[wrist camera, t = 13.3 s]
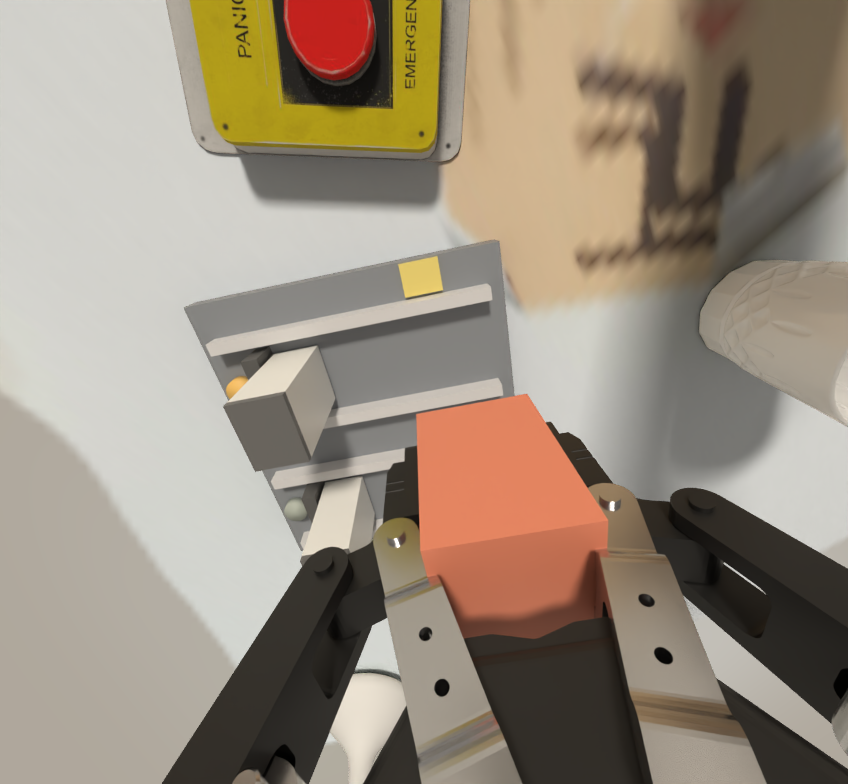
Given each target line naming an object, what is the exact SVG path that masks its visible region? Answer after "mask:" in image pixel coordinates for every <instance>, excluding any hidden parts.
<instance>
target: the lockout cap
mask: <svg viewBox="0 0 848 784" xmlns="http://www.w3.org/2000/svg"><path fill="white" fill-rule="evenodd" d="M416 420H417V455H418V489H419V524H420V552H421V555H422V559H423V563H424V566H425V570H426V574H427V577H430V576H435V575H437V577H439V579H440V581H441V583H442V586H443V588H444V591H445V593H446V596H447V598H448V601H449V603H450V606H451V609H452V611H453V614H454V616H455V619H456V621H457V624H458V626H459V629H460V631H461V634H462V636H463V638H469V637H476V636H482V635H489V634H496V635H504V636H513V637H521V638H530V639H537V638H540V637H542V636H544V635H546V634H549V633H551V632H553V631H555V630H557V629H559V628H561V627H564V626H566V625H568V624H570V623H572V622H575V621H582V620H588V619H594V606H596V572H595V550H596V549H604V548H607V541H608V519H607V518H606V516H605V514H604V513H603V511H602V510H601V508H600V507H599V505H598V504H597V502H596V500H595V499H594V497H593V496H592V494H591V493H590V491H589V490H588V488H587V486H586V485H585V483H584V482H583V480H582V479H581V477H580V476H579V474H578V472H577V471H576V469H575V468H574V466H573V465H572V463H571V462H570V460H569V458H568V457H567V455H566V454H565V452H564V451H563V449H562V448H561V446H560V444H559V443H558V441H557V440H556V438H555V437H554V435H553V434H552V432H551V430H550V429H549V427H548V426H547V424H546V423H545V421H544V420H543V418H542V416H541V415H540V413H539V412H538V410H537V409H536V407H535V406H534V404H533V402H532V401H531V399H530V398H529V396H528V395H527V394H523V395H518V396H512V397H507V398H501V399H496V400H490V401H485V402H479V403H474V404H469V405H463V406H458V407H452V408H447V409H441V410H436V411H430V412H425V413H419V414H416Z"/></svg>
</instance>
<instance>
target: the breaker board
mask: <svg viewBox="0 0 848 784" xmlns="http://www.w3.org/2000/svg"><path fill="white" fill-rule="evenodd" d="M184 310H185V312H186V314H187V316H188V318H189V320H190V322H191V324H192V326H193V328H194V330H195V332H196V335H197V337H198V339H199V341H200V343H201V345H202V347H203V349H204V351H205V353H206V355H207V357H208V359H209V361H210V363H211V366H212V368H213V370H214V372H215V374H216V376H217V378H218V380H219V382H220V384H221V386H222V388H223V390H224V392H225V395H226V397H227V399H228V401H229V400H230V399H231V398H232V397H233V396H234V395H235V394H236V393H237V392H238V391H239V390H240V389H241V388H242V387H243V385H244V384H245V383H246V382H247V381H248V380H249V379H250V378H251V377H252V376H253V375H254V374H255V373H256V372H257V371H258V370H259V369H260V368H261V367H262V366H263V365H264V364H265V363H266V362H267V361H268V360H269V359H270V358H271V357H272V356H273V355H274V354H276V353H281V352H286V351H291V350H296V349H302V348H307V347H312V346H317V345H318V348H319V351H320V354H321V357H322V360H323V362H324V365H325V368H326V371H327V374H328V377H329V380H330V383H331V386H332V389H333V392H334V395H335V401H334V403H333V406H332V408H331V411H330V413H329V416H328V418H327V421H326V423H325V425H324V428H323V430H322V433H321V435H320V438H319V440H318V443H317V445H316V448H315V450H314V452H313V455H312V457H311V460H310V462H305V463H300V464H294V465H289V466H283V467H278V468H272V469H267V470H262V471H263V473H264V475H265V477H266V479H267V481H268V483H269V486H270V488H271V490H272V492H273V494H274V496H275V498H276V500H277V502H278V504H279V506H280V508H281V510H282V512H283V515H284V517H285V519H286V521H287V523H288V525H289V527H290V529H291V531H292V533H293V535H294V537H295V539H296V541H297V543H298V546H299V548H300V550H301V551H303V550H304V548H305V545H306V541H307V538H308V535H309V532H310V529H311V526H312V523H313V519H314V516H315V513H316V510H317V507H318V504H319V501H320V497H321V494H322V491H323V488H324V485H325V482H330V481H336V480H341V479H347V478H352V477H358V476H362V477H363V480H364V483H365V486H366V489H367V492H368V495H369V498H370V501H371V504H372V507H373V510H374V513H375V515H374V524H373V532H372V539H373V537H374V534H375V532H376V531H377V529H378V528H379V527H380V526H381V525H382V524H383V513H384V502H385V494H386V492H385V490H386V479H387V472H388V471H389V469H390V468H391V466H392V465H393V463H398V462H403V461H404V456H405V448H406V447H411V446H417V420H416V414H419V413H425V412H430V411H436V410H441V409H447V408H452V407H458V406H463V405H469V404H474V403H479V402H485V401H490V400H496V399H501V398H507V397H512V396H514V386H513V376H512V366H511V356H510V345H509V335H508V325H507V315H506V305H505V294H504V284H503V274H502V264H501V253H500V243H499V241H497V240H490V241H485V242H481V243H476V244H471V245H466V246H462V247H457V248H452V249H447V250H443V251H438V252H433V253H428V254H424V255H419V256H414V257H409V258H405V259H400V260H395V261H390V262H386V263H381V264H376V265H371V266H367V267H362V268H357V269H352V270H348V271H343V272H338V273H333V274H329V275H324V276H319V277H314V278H310V279H305V280H300V281H295V282H291V283H286V284H281V285H276V286H272V287H267V288H262V289H257V290H253V291H248V292H243V293H238V294H234V295H229V296H224V297H219V298H215V299H210V300H205V301H201V302H196V303H193V304H191V305H189V306H186V307H184Z"/></svg>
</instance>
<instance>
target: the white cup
mask: <svg viewBox="0 0 848 784" xmlns="http://www.w3.org/2000/svg"><path fill="white" fill-rule="evenodd" d="M699 333H700V335H701V337H702V339H703V341H704V342H705V344H706V346H707V348H709V349H711V350H713V351H714V352H716V353H718V354H720V355H722V356H724V357H726V358H728V359H730V360H731V361H733V362H734V363H736V364H737V365H739V366H740V368H742V369H744V370H746V371H747V372H749V373H751V374H752V375H754V376H755V377H757V378H759V379H760V380H762V381H764V382H766V383H768V384H770V385H771V386H773V387H775V388H777V389H779V390H781V391H783V392H784V393H786V394H788V395H790V396H792V397H794V398H795V399H797V400H799V401H801V402H803V403H805V404H807V405H808V406H810V407H812V408H814V409H816V410H818V411H819V412H821V413H823V414H825V415H827V416H829V417H830V418H832V419H834V420H836V421H838V422H839V423H841V424H843V425H845V426H847V427H848V262H833V261H832V262H826V261H802V262H800V261H788V260H761V261H753V262H751V263H748V264H746V265H744V266H742V267H740V268H738V269H736V270H734V271H732V272H730V273H729V274H728V275H727V276H726V277H725V278H724V279H723V280H722V281H721V282H720V283H719V284H717V285H716V286H715V287H714V288H713V289H712V290H711V292H710V294H709V296H708V298H707V300H706V302H705V304H704V306H703V307H702V309H701V312H700V323H699Z"/></svg>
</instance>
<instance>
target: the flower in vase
mask: <svg viewBox="0 0 848 784" xmlns="http://www.w3.org/2000/svg"><path fill="white" fill-rule="evenodd" d="M405 707H406V701H405V696H404V692H403V687H402V682H400V681H399V680H397V679H395V678H392V677H389V676H386V675H382V674H375V673H358V674H353V675H352V678H351V680H350V683H349V685H348V688H347V690H346V693H345V695H344V698H343V700H342V702H341V705H340V707H339V710H338V712H337V715H336V717H335V720H334V722H333V725H332V727H331V730H330V733H331V734H332V736H333V737H334V738H335V739H336V740H337V741H338V743H339V744H340V745H341V746H342V748H343V749H344V750H345V752H346V754H347V757H348V762H349V776H348V777H349V778H348V784H363V783H364V781H365V779H366V777H367V775H368V774H369V772H370V770H371V768H372V764H373V761H374V759H375V756H376V755H377V753H378V752H379V750H380V749H381V748H382V747H383V746H384V745H385V743H386V741H387V739H388V738H389V736H390V734H391V732H392V730H393V729H394V727H395V725H396V723H397V721H398V719H399V718H400V716H401V714H402V712H403V710H404V709H405Z"/></svg>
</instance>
